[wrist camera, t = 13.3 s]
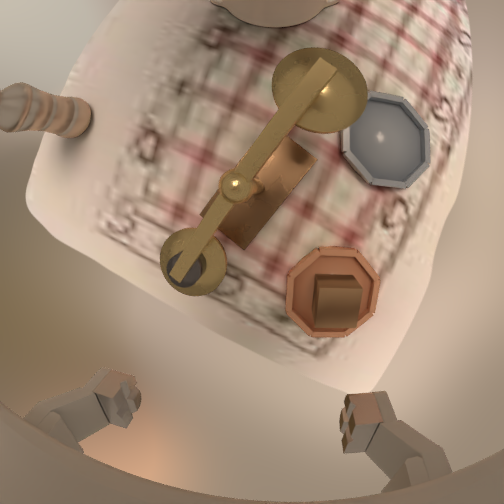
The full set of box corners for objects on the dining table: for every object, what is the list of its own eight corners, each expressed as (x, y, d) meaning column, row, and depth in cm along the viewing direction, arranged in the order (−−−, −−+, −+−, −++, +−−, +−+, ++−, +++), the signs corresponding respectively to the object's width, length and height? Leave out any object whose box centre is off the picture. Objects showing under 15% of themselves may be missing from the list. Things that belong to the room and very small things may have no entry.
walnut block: (315, 273, 34) (319, 287, 29) (352, 274, 34) (363, 288, 29) (311, 309, 35) (315, 327, 30) (347, 310, 35) (356, 328, 30)
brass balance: (299, 91, 29) (313, 2, 11) (344, 125, 30) (406, 66, 11) (177, 249, 36) (89, 306, 18) (218, 282, 36) (160, 367, 18)
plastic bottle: (89, 92, 32) (-5, 63, 13) (101, 121, 33) (-3, 99, 14) (64, 119, 33) (-30, 105, 14) (75, 148, 34) (-27, 143, 15)
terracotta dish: (288, 244, 34) (289, 247, 32) (379, 248, 33) (384, 251, 31) (283, 329, 37) (283, 336, 35) (366, 330, 36) (369, 336, 34)
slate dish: (338, 91, 29) (341, 86, 27) (421, 106, 28) (427, 103, 26) (339, 182, 32) (342, 182, 30) (423, 191, 30) (429, 192, 29)
